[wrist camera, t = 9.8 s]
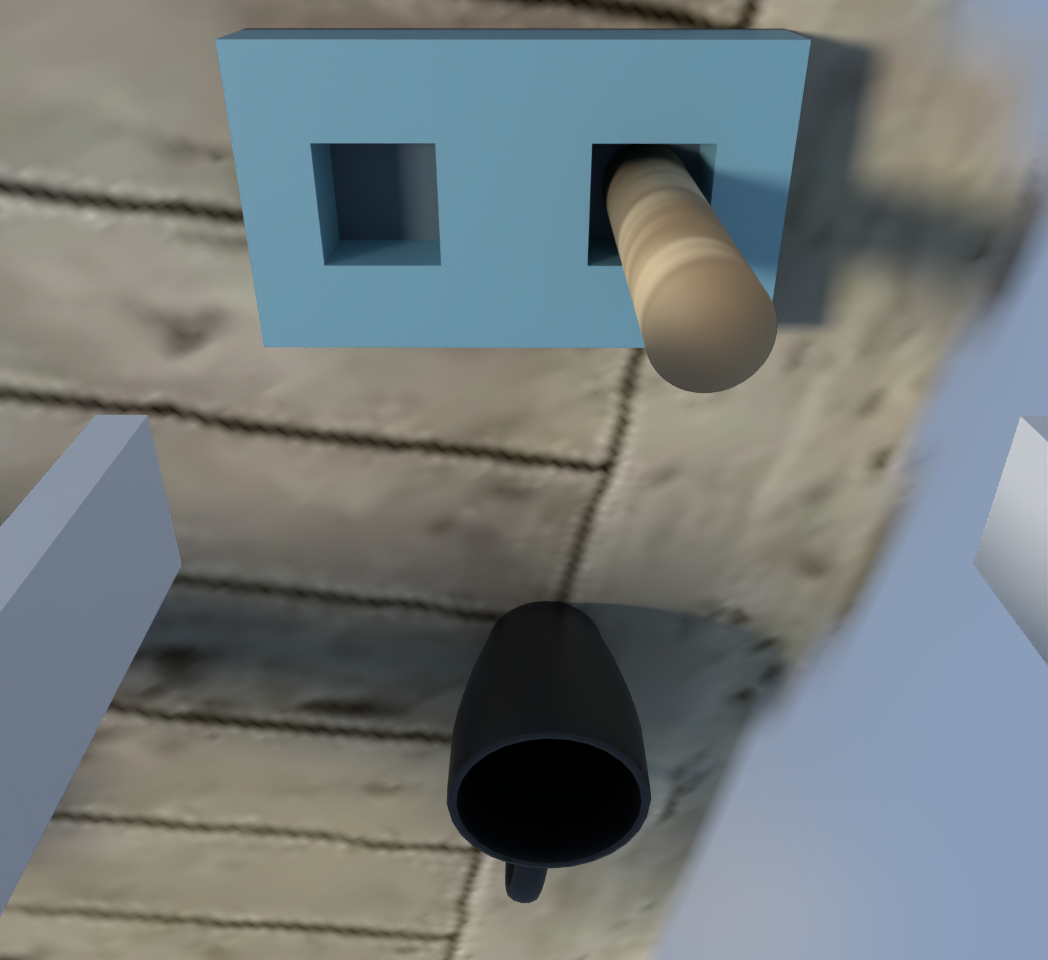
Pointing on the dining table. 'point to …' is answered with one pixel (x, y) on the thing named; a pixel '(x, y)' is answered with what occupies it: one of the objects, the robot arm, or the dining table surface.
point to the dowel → (685, 274)
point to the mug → (546, 749)
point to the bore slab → (489, 172)
